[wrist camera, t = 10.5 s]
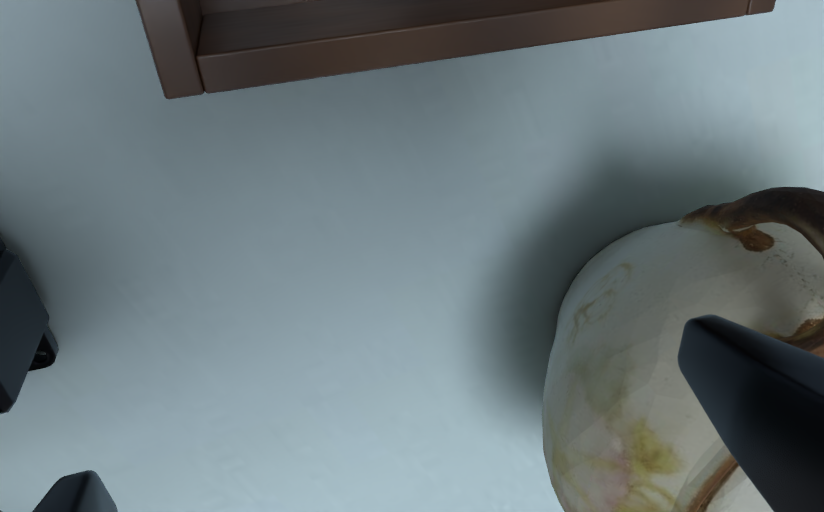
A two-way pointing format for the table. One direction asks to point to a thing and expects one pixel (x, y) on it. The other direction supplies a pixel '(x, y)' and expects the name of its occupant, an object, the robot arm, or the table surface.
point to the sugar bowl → (673, 351)
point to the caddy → (379, 33)
